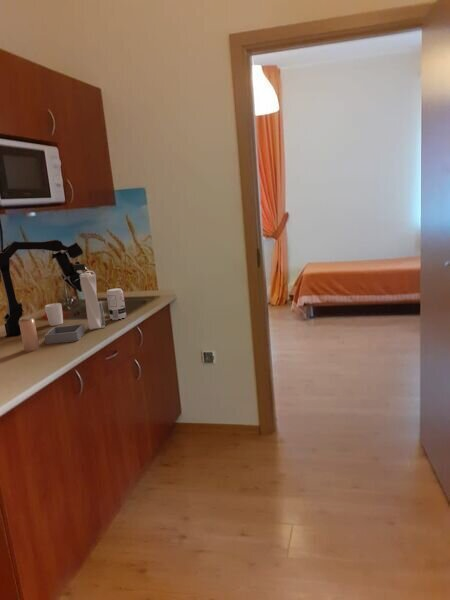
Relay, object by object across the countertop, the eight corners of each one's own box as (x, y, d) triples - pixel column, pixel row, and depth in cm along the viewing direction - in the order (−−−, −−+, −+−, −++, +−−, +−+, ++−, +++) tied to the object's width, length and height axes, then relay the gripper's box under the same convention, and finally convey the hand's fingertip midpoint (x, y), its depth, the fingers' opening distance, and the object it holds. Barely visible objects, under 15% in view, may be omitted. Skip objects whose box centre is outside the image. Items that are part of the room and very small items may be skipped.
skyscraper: (104, 328, 224) (95, 270, 218) (86, 331, 223) (77, 272, 217) (106, 324, 233) (97, 267, 227) (89, 326, 232) (80, 269, 226)
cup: (22, 352, 199) (16, 322, 196) (27, 348, 205) (21, 318, 202) (36, 350, 199) (31, 320, 196) (41, 346, 205) (36, 317, 202)
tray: (45, 344, 208) (44, 335, 207) (55, 335, 221) (53, 326, 221) (78, 340, 208) (76, 332, 207) (85, 332, 222) (84, 323, 221)
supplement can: (109, 318, 245) (105, 289, 242) (125, 315, 248) (121, 287, 245) (111, 321, 238) (107, 292, 235) (127, 318, 241) (123, 289, 237)
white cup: (61, 325, 240) (57, 306, 238) (45, 326, 240) (42, 307, 238) (66, 321, 247) (63, 302, 245) (51, 322, 248) (48, 303, 246)
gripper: (84, 257, 233) (98, 285, 239) (74, 255, 249) (87, 281, 254) (63, 267, 229) (78, 295, 234) (54, 264, 244) (68, 291, 250)
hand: (78, 290), depth 243 cm, fingers open, 9 cm apart
